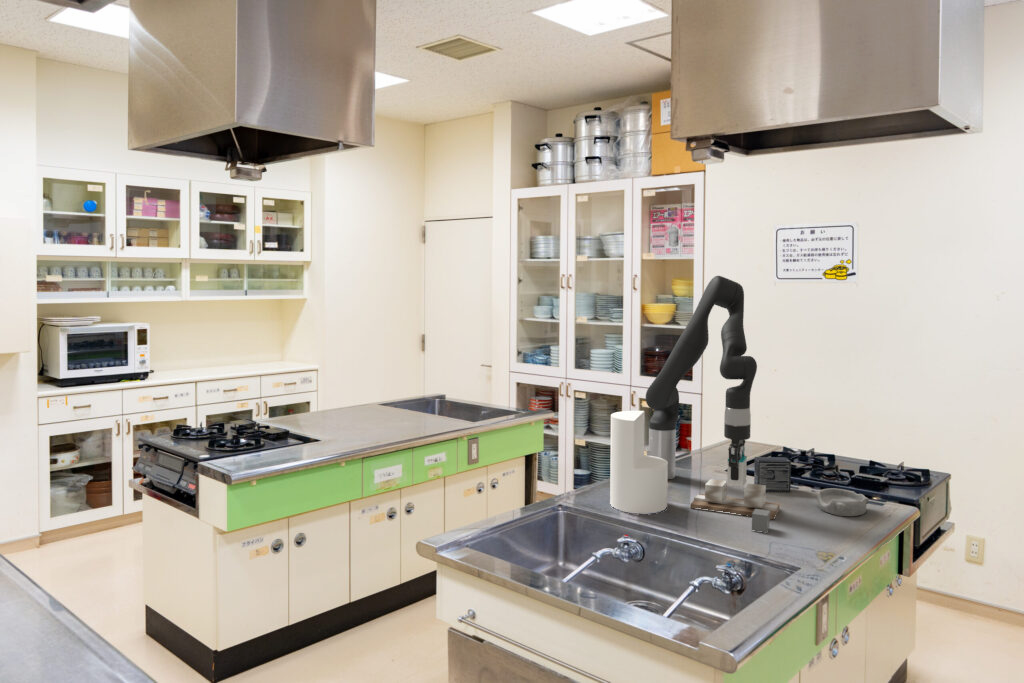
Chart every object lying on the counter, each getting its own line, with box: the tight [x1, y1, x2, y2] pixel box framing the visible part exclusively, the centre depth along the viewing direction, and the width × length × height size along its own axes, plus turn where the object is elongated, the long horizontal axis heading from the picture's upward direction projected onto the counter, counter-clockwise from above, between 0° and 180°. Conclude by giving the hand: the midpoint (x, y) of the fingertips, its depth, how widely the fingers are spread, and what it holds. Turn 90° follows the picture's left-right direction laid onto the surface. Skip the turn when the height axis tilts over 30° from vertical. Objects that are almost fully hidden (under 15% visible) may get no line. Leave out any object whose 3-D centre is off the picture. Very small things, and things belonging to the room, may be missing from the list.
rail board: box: [690, 478, 781, 520], centre depth 227 cm, size 24×12×7 cm, turn 63°
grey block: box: [751, 509, 771, 533], centre depth 209 cm, size 4×5×5 cm
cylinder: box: [609, 410, 668, 513], centre depth 230 cm, size 17×17×28 cm
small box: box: [753, 456, 792, 494], centre depth 247 cm, size 11×6×10 cm, turn 84°
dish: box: [817, 487, 869, 517], centre depth 226 cm, size 14×14×5 cm
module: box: [726, 455, 748, 488], centre depth 227 cm, size 4×6×8 cm
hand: (736, 477), depth 227 cm, fingers closed on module, 6 cm apart
